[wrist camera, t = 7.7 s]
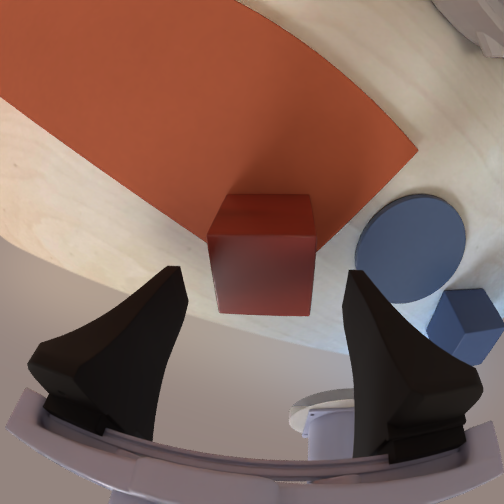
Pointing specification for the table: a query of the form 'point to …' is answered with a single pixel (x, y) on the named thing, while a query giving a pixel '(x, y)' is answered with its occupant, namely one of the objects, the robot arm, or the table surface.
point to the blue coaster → (411, 247)
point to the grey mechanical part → (477, 22)
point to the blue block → (466, 325)
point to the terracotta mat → (198, 105)
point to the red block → (263, 254)
